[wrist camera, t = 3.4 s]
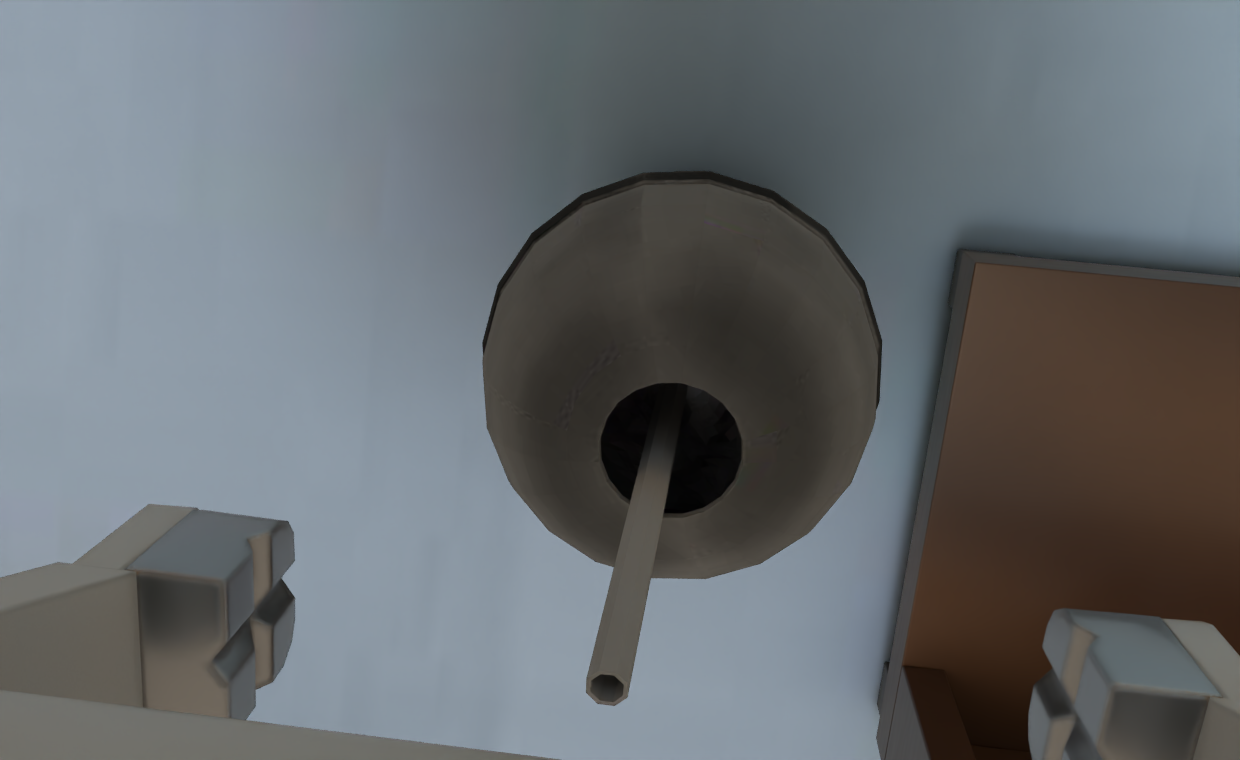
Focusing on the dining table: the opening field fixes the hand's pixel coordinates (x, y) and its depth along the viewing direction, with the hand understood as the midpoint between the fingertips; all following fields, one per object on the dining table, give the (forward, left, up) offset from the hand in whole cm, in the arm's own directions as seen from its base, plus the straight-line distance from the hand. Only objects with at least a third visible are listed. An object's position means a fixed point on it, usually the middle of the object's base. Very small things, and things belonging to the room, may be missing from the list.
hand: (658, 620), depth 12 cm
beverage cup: (0, 0, -20) cm, 20 cm away
